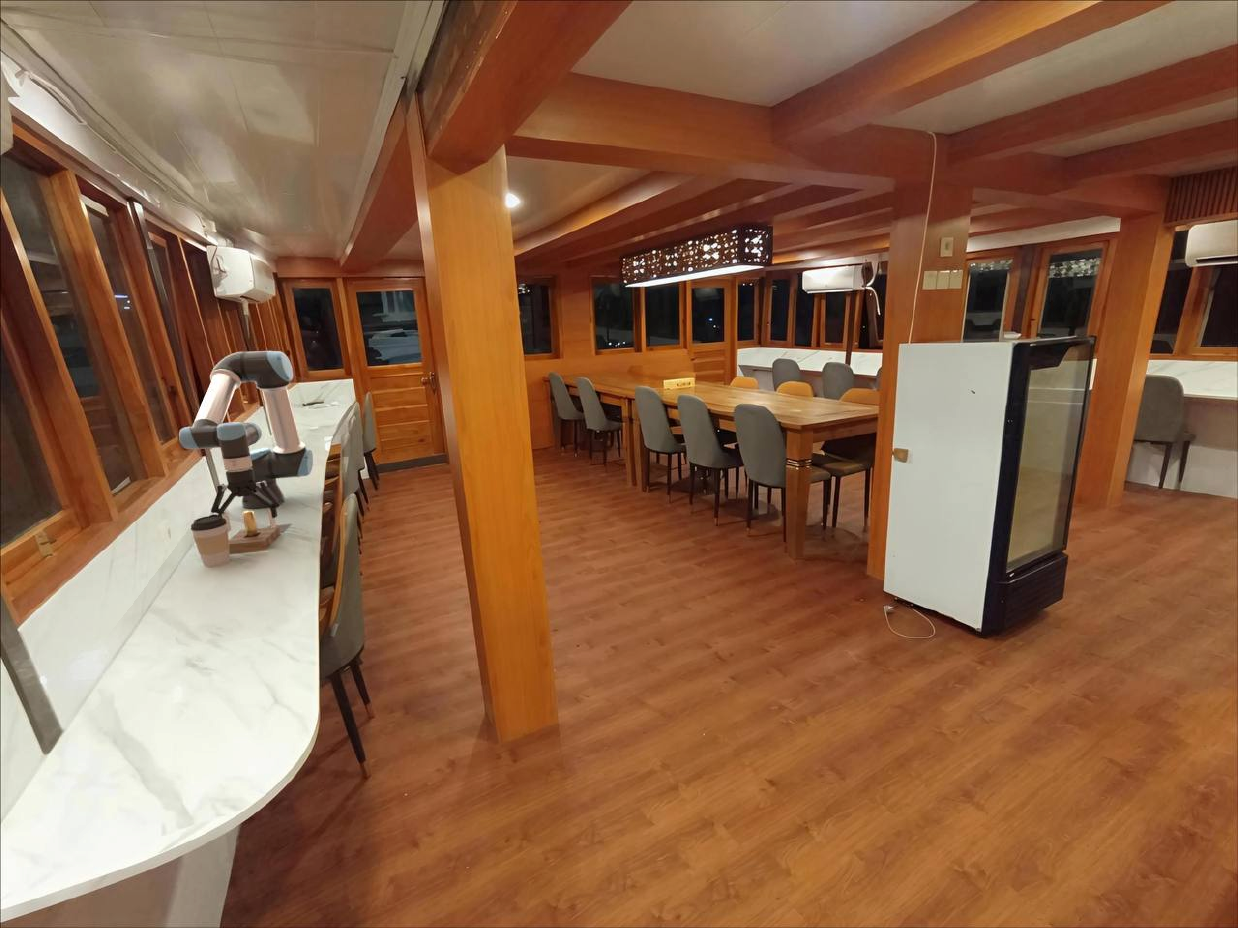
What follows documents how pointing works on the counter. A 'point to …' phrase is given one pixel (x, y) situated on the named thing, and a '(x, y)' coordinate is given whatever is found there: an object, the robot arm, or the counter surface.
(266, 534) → the hole block
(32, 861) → the counter surface
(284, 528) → the mat
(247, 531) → the peg
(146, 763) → the counter surface
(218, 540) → the coffee cup
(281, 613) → the counter surface
